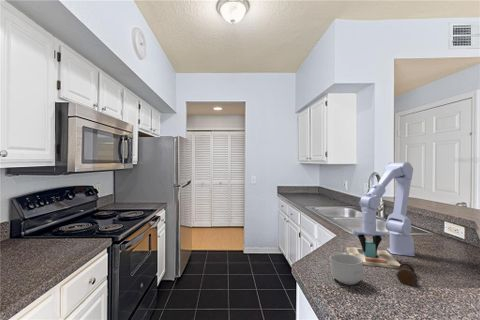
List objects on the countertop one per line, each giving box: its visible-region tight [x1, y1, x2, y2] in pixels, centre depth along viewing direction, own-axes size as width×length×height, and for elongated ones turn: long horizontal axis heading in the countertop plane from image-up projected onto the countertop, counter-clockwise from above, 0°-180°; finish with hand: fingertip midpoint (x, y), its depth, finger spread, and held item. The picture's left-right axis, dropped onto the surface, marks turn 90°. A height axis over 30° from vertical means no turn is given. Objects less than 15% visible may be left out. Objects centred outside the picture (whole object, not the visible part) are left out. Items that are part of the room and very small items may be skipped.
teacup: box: [329, 252, 364, 286], centre depth 86 cm, size 14×11×8 cm
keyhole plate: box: [345, 246, 401, 270], centre depth 108 cm, size 18×20×2 cm
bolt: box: [395, 261, 417, 286], centre depth 89 cm, size 6×5×15 cm
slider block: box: [362, 240, 377, 258], centre depth 111 cm, size 4×5×6 cm
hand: (369, 251), depth 111 cm, fingers closed on slider block, 4 cm apart
